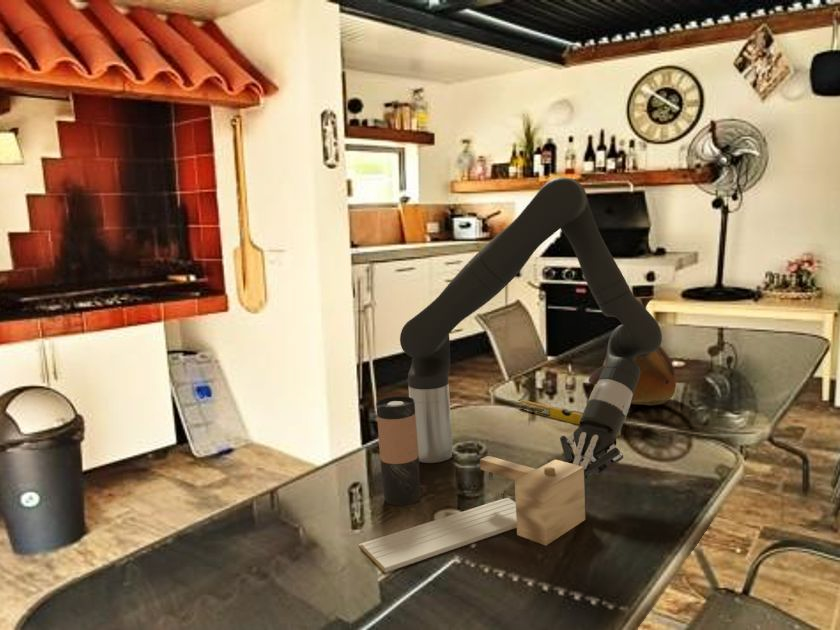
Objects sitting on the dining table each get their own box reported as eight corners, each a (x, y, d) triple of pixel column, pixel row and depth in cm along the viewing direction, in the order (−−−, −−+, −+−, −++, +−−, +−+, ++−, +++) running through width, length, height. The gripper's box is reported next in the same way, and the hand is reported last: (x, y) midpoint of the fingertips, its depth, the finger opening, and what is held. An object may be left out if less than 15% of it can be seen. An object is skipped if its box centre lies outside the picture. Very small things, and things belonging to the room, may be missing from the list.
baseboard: (355, 545, 117) (385, 576, 107) (354, 530, 117) (384, 559, 107) (500, 499, 132) (539, 523, 121) (500, 485, 131) (538, 508, 121)
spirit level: (624, 435, 162) (624, 423, 162) (621, 436, 161) (621, 424, 161) (522, 409, 188) (521, 398, 188) (518, 410, 187) (518, 399, 187)
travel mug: (427, 492, 136) (421, 397, 133) (411, 508, 129) (404, 408, 126) (394, 488, 139) (387, 394, 136) (376, 503, 132) (368, 405, 129)
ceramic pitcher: (665, 391, 195) (664, 289, 190) (685, 412, 175) (685, 299, 171) (596, 394, 197) (593, 292, 192) (608, 415, 177) (606, 302, 173)
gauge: (465, 515, 125) (462, 460, 123) (506, 494, 133) (503, 442, 131) (545, 545, 112) (543, 484, 110) (585, 519, 120) (583, 462, 119)
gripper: (569, 393, 132) (534, 472, 125) (631, 403, 122) (597, 489, 116) (584, 412, 136) (551, 489, 130) (645, 424, 127) (613, 508, 120)
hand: (573, 489), depth 123 cm, fingers closed
